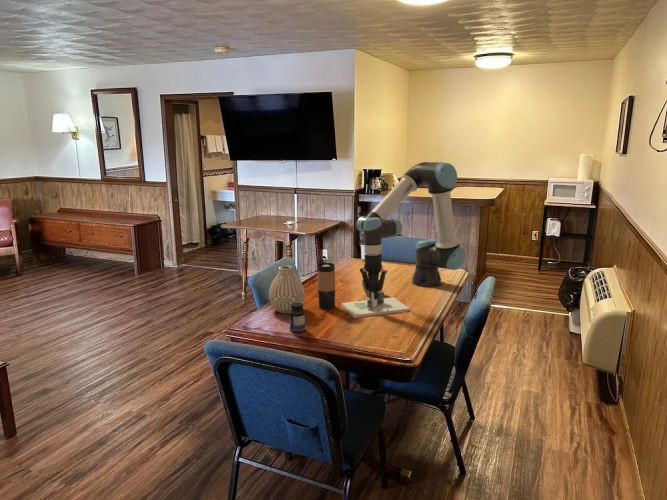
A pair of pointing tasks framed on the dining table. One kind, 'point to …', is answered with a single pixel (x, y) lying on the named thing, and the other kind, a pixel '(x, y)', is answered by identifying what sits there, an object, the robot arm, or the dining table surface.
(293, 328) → the pill bottle
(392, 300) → the board
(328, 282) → the travel mug
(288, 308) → the vase
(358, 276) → the dining table surface
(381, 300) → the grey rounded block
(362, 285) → the flower pot
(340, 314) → the dining table surface
